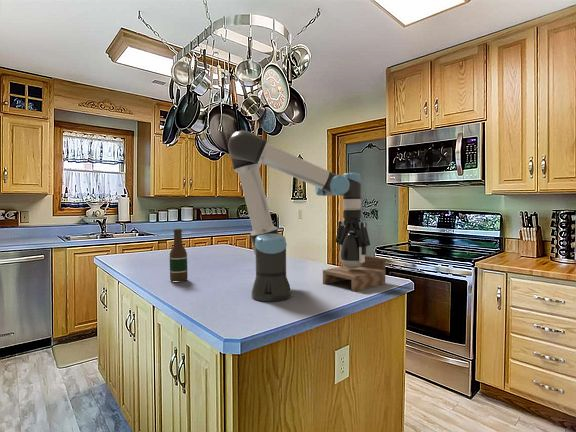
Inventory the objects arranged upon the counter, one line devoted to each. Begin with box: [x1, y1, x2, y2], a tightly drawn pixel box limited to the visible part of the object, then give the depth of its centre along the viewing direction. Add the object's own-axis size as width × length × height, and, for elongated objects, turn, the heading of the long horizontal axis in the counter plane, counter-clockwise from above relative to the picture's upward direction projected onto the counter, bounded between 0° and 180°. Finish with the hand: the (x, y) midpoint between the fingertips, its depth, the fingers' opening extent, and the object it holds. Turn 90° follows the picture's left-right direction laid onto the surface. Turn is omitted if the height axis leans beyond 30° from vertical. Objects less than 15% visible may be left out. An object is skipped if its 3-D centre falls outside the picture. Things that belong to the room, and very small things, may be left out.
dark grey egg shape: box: [339, 231, 362, 268], centre depth 153 cm, size 10×10×15 cm
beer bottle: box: [169, 228, 189, 282], centre depth 165 cm, size 8×8×24 cm
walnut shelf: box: [322, 255, 386, 293], centre depth 154 cm, size 20×18×11 cm
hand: (352, 260), depth 154 cm, fingers open, 10 cm apart
